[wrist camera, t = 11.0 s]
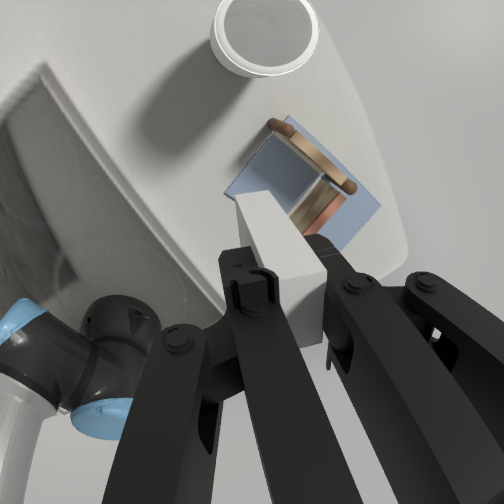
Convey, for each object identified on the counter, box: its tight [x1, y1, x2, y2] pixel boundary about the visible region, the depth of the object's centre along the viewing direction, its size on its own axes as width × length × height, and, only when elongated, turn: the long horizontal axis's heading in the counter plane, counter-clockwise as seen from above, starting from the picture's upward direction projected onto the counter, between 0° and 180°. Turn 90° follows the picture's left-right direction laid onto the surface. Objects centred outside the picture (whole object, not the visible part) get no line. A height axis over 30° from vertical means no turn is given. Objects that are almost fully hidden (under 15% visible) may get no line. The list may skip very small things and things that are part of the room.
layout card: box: [225, 116, 381, 252], centre depth 50 cm, size 24×15×1 cm, turn 51°
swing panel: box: [290, 180, 347, 236], centre depth 47 cm, size 12×2×7 cm, turn 140°
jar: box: [210, 0, 320, 78], centre depth 30 cm, size 11×10×15 cm
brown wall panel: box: [268, 118, 357, 195], centre depth 42 cm, size 14×2×8 cm, turn 51°
